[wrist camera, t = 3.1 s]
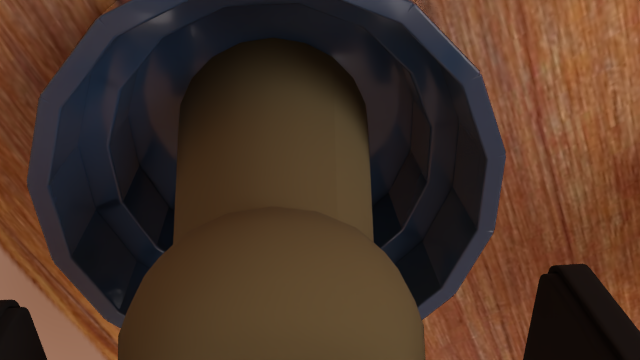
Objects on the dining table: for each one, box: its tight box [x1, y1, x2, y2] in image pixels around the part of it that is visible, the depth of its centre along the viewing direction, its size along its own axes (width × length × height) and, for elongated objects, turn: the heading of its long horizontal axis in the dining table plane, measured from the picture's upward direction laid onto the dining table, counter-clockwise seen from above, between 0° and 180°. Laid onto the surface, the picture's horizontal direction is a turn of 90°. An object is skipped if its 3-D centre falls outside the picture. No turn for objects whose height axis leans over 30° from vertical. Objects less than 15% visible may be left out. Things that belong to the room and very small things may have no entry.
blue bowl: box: [27, 0, 506, 328], centre depth 16 cm, size 11×11×5 cm
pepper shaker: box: [118, 38, 425, 360], centre depth 13 cm, size 6×6×11 cm
